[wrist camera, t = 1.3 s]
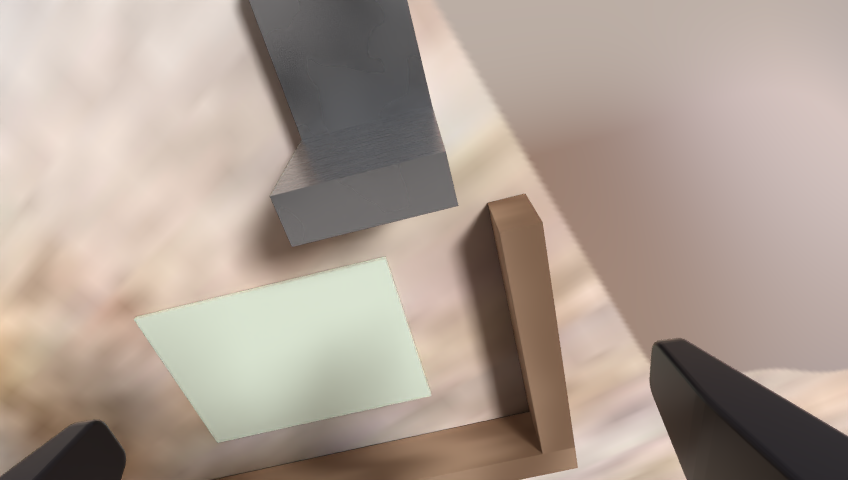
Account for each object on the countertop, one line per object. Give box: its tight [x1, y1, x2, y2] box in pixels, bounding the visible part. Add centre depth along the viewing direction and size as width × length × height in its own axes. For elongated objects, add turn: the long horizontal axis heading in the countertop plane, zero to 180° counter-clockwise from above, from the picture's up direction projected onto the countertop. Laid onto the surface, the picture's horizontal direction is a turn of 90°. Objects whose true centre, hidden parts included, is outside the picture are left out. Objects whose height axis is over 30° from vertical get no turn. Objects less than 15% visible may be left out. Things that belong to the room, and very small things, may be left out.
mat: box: [134, 256, 431, 443], centre depth 22 cm, size 11×8×1 cm
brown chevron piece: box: [214, 194, 578, 480], centre depth 22 cm, size 20×14×2 cm
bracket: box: [249, 0, 458, 247], centre depth 14 cm, size 6×4×6 cm
